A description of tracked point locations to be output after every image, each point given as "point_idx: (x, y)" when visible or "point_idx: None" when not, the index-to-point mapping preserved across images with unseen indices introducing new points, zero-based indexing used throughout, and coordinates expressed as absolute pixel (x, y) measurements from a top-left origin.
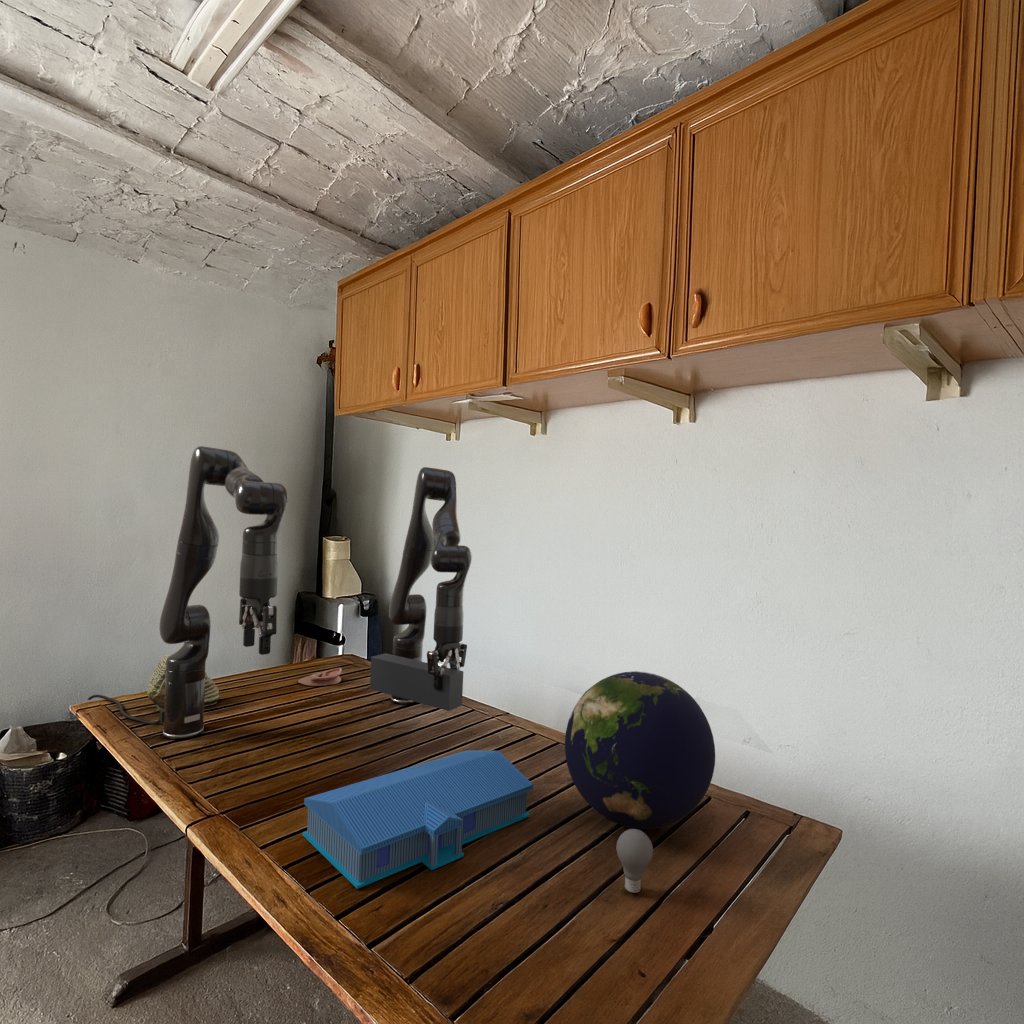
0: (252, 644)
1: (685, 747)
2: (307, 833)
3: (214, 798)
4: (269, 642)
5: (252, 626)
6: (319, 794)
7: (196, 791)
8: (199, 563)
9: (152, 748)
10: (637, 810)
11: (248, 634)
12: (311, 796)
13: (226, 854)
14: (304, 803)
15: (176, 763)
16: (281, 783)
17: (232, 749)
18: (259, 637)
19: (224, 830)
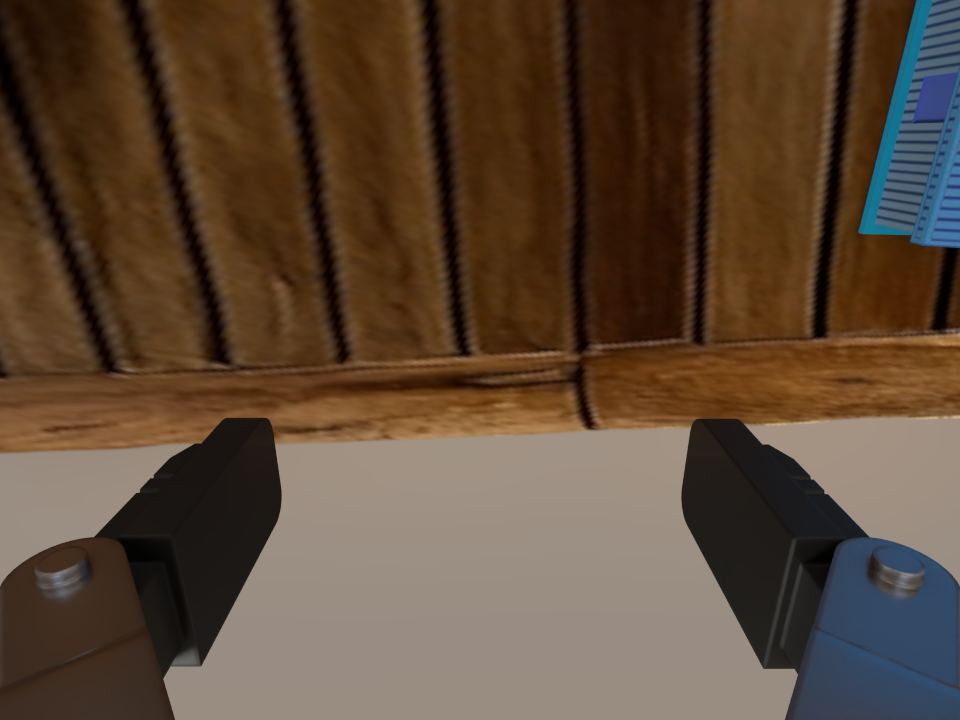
0: (268, 439)
1: None
2: (879, 225)
3: (484, 337)
4: (844, 519)
5: (141, 606)
6: (946, 193)
7: (410, 361)
8: None
9: (7, 374)
10: None
11: (224, 570)
12: (930, 219)
13: (781, 404)
14: (913, 242)
15: (172, 350)
16: (512, 136)
17: (125, 162)
18: (775, 663)
19: (675, 373)
